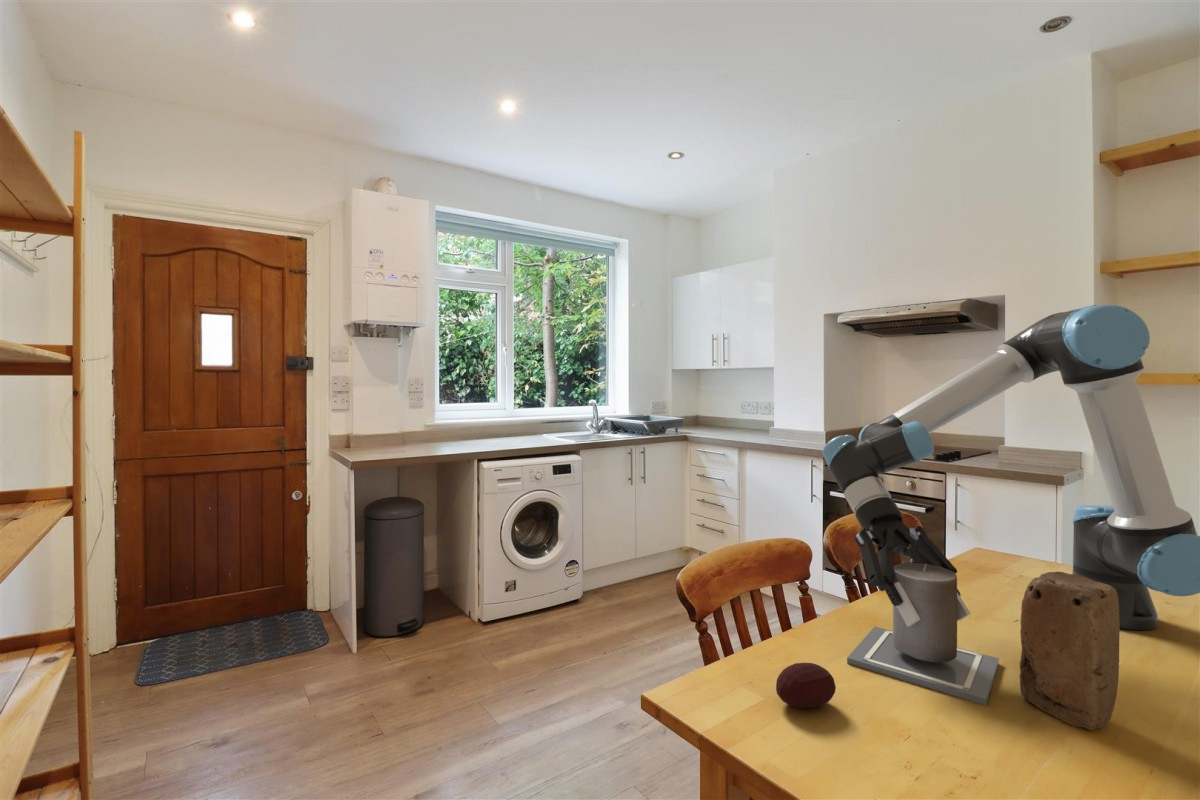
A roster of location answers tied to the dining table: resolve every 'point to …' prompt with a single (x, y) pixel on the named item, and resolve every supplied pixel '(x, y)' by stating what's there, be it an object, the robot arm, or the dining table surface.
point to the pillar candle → (927, 612)
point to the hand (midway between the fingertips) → (939, 620)
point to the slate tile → (928, 667)
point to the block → (1070, 648)
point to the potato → (805, 685)
